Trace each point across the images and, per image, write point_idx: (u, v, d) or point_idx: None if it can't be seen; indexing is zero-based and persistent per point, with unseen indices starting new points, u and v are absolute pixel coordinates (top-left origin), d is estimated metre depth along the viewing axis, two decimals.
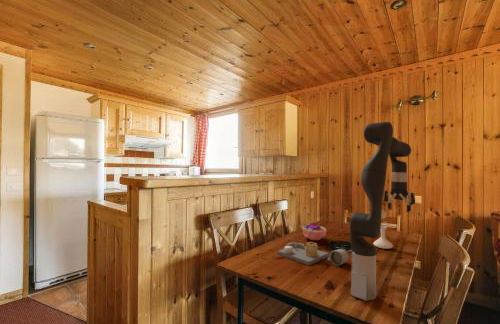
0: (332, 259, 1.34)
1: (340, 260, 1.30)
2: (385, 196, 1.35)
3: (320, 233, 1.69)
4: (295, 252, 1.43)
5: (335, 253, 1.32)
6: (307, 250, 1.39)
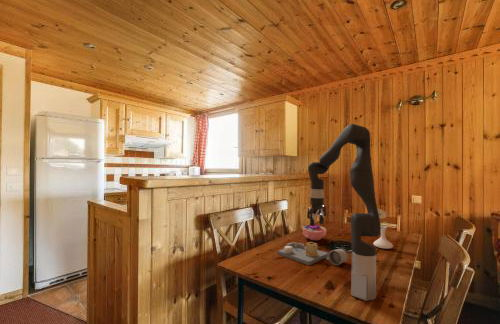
0: (331, 258, 1.34)
1: (339, 260, 1.30)
2: (311, 214, 1.35)
3: (320, 233, 1.69)
4: (295, 252, 1.43)
5: (334, 253, 1.33)
6: (307, 250, 1.39)
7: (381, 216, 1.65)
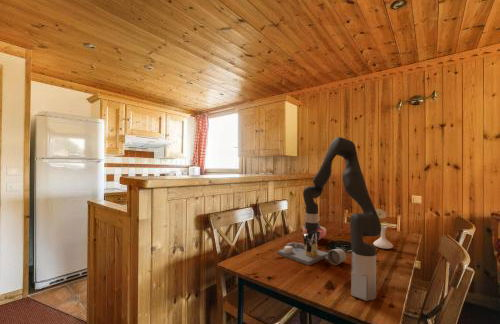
0: (330, 258, 1.35)
1: (338, 259, 1.31)
2: (307, 240, 1.36)
3: (320, 233, 1.69)
4: (295, 252, 1.43)
5: (333, 252, 1.33)
6: None
7: (381, 216, 1.65)
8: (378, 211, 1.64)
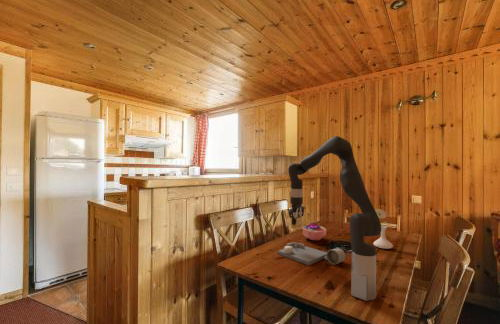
0: (329, 258, 1.35)
1: (337, 259, 1.31)
2: (292, 213, 1.44)
3: (320, 233, 1.69)
4: (295, 252, 1.43)
5: (332, 252, 1.33)
6: None
7: (381, 216, 1.65)
8: (378, 211, 1.64)
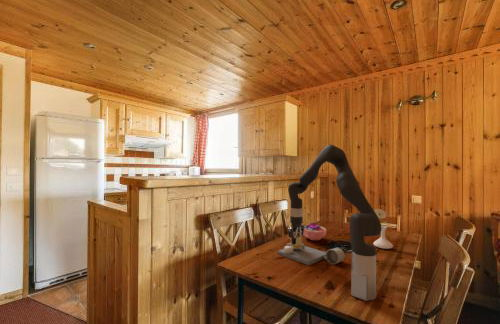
0: (328, 257, 1.35)
1: (336, 259, 1.32)
2: (292, 233, 1.44)
3: (320, 233, 1.69)
4: (295, 252, 1.43)
5: (331, 252, 1.34)
6: None
7: (381, 216, 1.65)
8: (378, 211, 1.64)
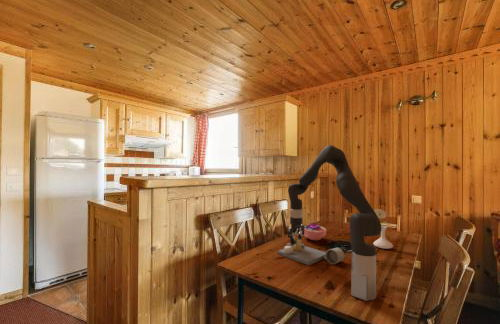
0: (328, 257, 1.36)
1: (336, 259, 1.32)
2: (291, 233, 1.43)
3: (320, 233, 1.69)
4: (295, 252, 1.43)
5: (331, 252, 1.34)
6: (292, 245, 1.47)
7: (381, 216, 1.65)
8: (378, 211, 1.64)
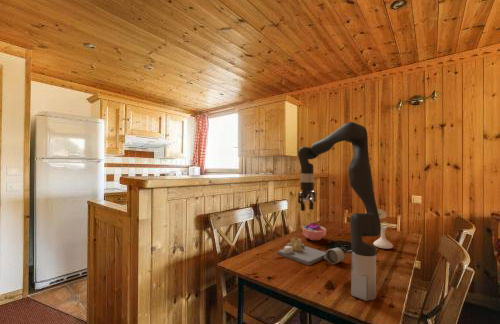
0: (328, 257, 1.36)
1: (336, 259, 1.32)
2: (302, 198, 1.34)
3: (320, 233, 1.69)
4: (295, 252, 1.43)
5: (331, 252, 1.34)
6: (292, 245, 1.47)
7: (381, 216, 1.65)
8: (378, 211, 1.64)
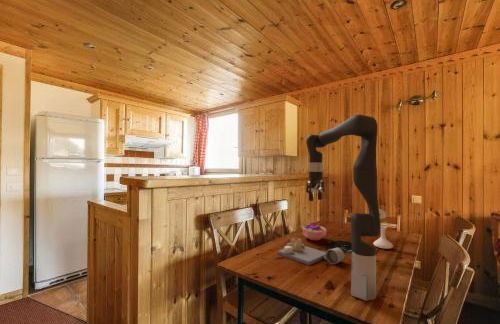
0: (328, 257, 1.36)
1: (336, 259, 1.32)
2: (310, 187, 1.29)
3: (320, 233, 1.69)
4: (295, 252, 1.43)
5: (331, 252, 1.34)
6: (292, 245, 1.47)
7: (381, 216, 1.65)
8: None
